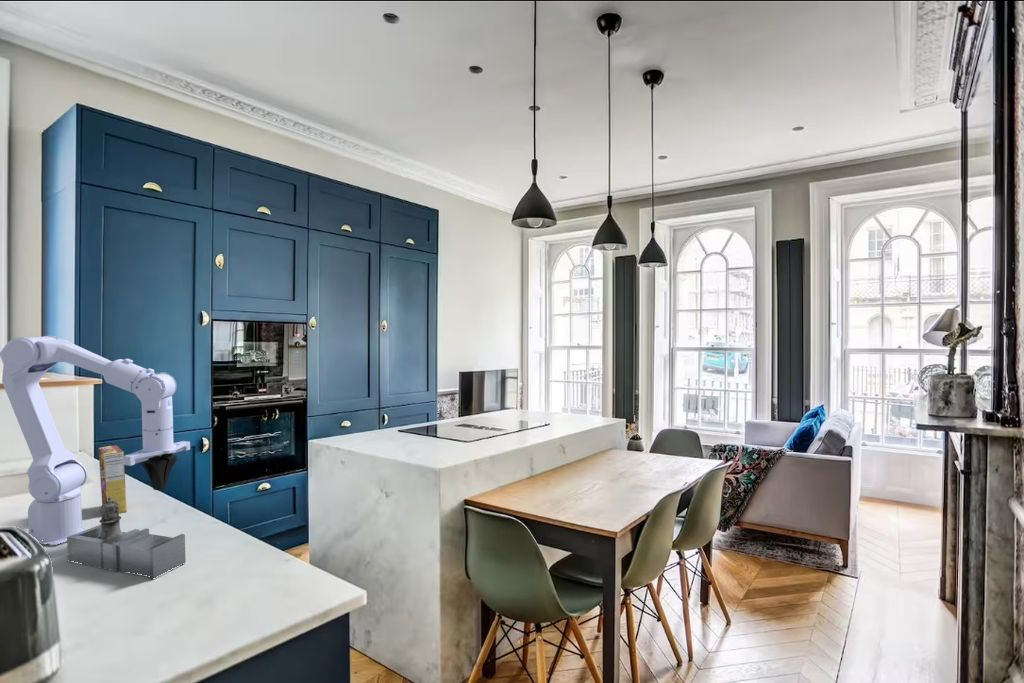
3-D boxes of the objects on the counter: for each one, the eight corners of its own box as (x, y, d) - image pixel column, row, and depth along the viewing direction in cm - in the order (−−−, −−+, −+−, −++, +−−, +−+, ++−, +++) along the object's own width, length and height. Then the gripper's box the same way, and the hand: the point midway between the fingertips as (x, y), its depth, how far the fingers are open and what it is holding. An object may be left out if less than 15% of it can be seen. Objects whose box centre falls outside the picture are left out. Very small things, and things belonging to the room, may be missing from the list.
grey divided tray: (65, 562, 108) (64, 533, 107) (103, 547, 115) (102, 520, 114) (153, 579, 101) (152, 548, 101) (188, 562, 108) (187, 533, 108)
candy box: (100, 507, 139) (97, 447, 138) (120, 503, 142) (118, 444, 141) (105, 516, 132) (103, 453, 131) (127, 512, 135) (125, 450, 134)
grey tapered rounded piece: (110, 562, 108) (108, 502, 107) (85, 560, 109) (83, 500, 108) (136, 550, 114) (134, 493, 113) (112, 547, 115) (110, 491, 114)
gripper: (140, 436, 113) (142, 501, 114) (199, 423, 127) (201, 481, 128) (115, 434, 115) (117, 498, 116) (176, 421, 129) (177, 478, 130)
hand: (159, 489), depth 122 cm, fingers closed
